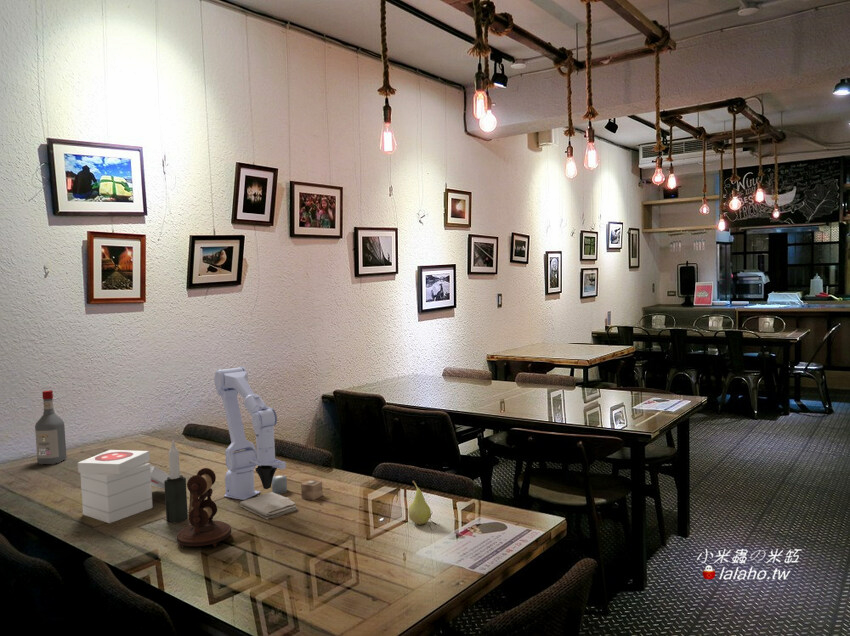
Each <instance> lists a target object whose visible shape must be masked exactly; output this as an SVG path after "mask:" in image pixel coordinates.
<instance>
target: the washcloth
mask: <svg viewBox="0 0 850 636" xmlns="http://www.w3.org/2000/svg"><path fill="white" fill-rule="evenodd" d="M239 507H240V508H242V509H244V510H246V511H249V512H250V513H253V514H254V515H257V516H259V517H261V518H263V519H265V520H269V519H274V518H278V517H280V516H283V515H286V514H290V513H293V512H295V511H297V510H298V507H297V505H296V502H294V501H292V500H291V499H290V498H289V497H285V496H284V495H281V494H276V493H273V492H272V491H270V492H267V493H263V494H261V495H258V496H255V497H250V498H248V499H246V500H242V501H240V502H239Z"/></svg>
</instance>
